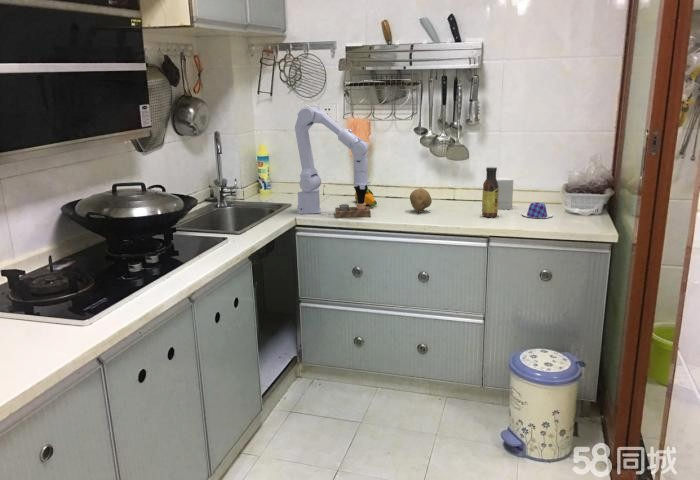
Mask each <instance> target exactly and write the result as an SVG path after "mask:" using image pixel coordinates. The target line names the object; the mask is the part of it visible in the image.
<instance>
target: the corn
mask: <svg viewBox="0 0 700 480" xmlns="http://www.w3.org/2000/svg"><path fill="white" fill-rule="evenodd" d="M354 199H355V200H356V202H358V200H357V194H356V192H355V193H354ZM364 203H366V205H370V206H373V207H374V206H377V205H378V203H377V201H376V199H375V197H374V193H373V192H372V190H370V189H369V188H368V190H367V192H366V195H365V200H364Z"/></svg>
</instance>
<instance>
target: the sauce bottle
mask: <svg viewBox="0 0 700 480" xmlns="http://www.w3.org/2000/svg"><path fill="white" fill-rule="evenodd" d="M485 169H486V170H485V171H486V179H485V180H484V182H483V184H482V186H483V188H482V198H481V199H482V200H481V201H482V202H481V203H482V204H481V212H482V213H481V215H482V217H486V218H496V217H497V216H498V210H499V209H498V194H499V186H498V183H497V180H496V178H497V171H498V167H496V166H486V168H485Z"/></svg>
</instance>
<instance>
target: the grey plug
mask: <svg viewBox="0 0 700 480" xmlns="http://www.w3.org/2000/svg"><path fill="white" fill-rule="evenodd" d="M339 207H340V211H349V207H350V205H349V204H347V203H346V204H345V203H344V204H339Z"/></svg>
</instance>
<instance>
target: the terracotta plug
mask: <svg viewBox="0 0 700 480" xmlns="http://www.w3.org/2000/svg"><path fill="white" fill-rule="evenodd" d="M355 205H356V207H357V210H365V207H366V205H367V204H366V203H364V204H359V203H358V202H356V203H355Z"/></svg>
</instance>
